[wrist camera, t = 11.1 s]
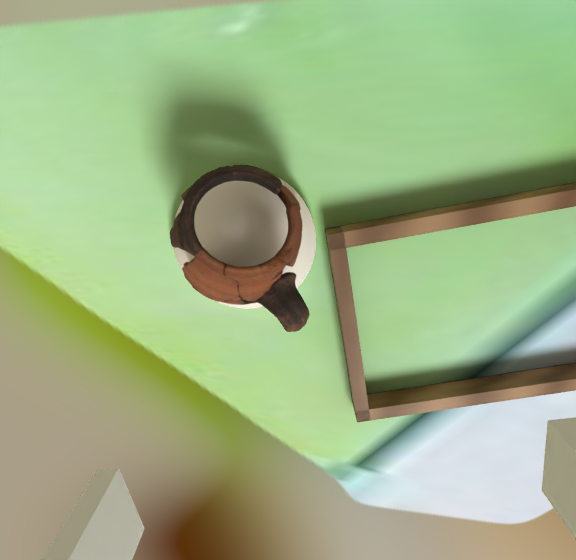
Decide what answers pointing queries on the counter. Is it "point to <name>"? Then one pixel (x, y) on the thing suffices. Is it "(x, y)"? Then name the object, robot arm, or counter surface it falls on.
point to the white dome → (249, 228)
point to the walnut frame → (449, 392)
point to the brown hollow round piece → (253, 279)
